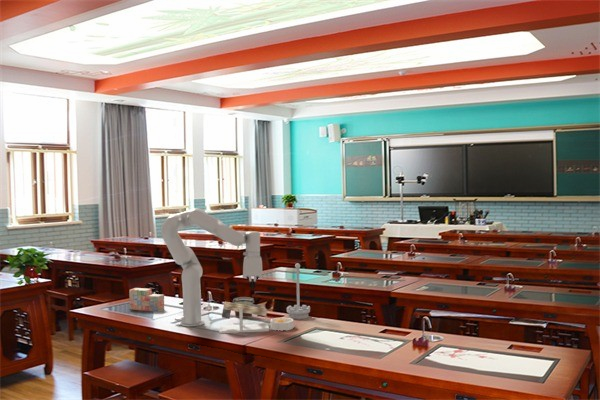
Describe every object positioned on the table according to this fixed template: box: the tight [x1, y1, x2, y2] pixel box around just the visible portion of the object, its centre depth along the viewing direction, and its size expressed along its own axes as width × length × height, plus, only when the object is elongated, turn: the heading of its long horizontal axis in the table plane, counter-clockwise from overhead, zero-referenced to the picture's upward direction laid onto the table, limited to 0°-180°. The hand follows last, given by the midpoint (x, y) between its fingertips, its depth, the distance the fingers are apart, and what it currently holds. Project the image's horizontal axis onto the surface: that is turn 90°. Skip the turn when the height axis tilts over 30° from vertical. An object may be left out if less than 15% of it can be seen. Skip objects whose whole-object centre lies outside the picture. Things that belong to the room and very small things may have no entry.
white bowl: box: [269, 317, 295, 332], centre depth 303 cm, size 12×12×4 cm
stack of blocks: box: [128, 287, 165, 313], centre depth 353 cm, size 21×6×12 cm, turn 65°
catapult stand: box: [218, 309, 270, 334], centre depth 301 cm, size 25×12×11 cm, turn 96°
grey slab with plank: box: [221, 301, 268, 320], centre depth 307 cm, size 22×18×7 cm
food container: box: [232, 296, 255, 318], centre depth 333 cm, size 12×6×10 cm, turn 84°
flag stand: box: [286, 262, 311, 320], centre depth 328 cm, size 13×13×30 cm
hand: (252, 288), depth 314 cm, fingers closed
